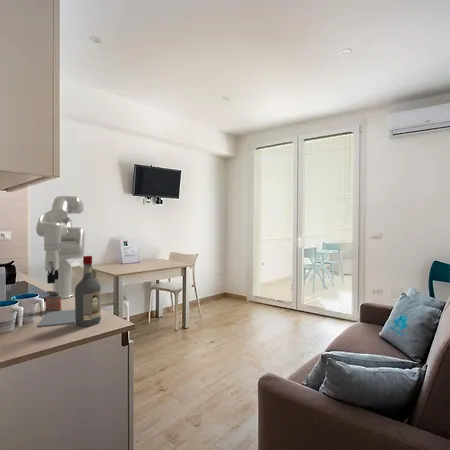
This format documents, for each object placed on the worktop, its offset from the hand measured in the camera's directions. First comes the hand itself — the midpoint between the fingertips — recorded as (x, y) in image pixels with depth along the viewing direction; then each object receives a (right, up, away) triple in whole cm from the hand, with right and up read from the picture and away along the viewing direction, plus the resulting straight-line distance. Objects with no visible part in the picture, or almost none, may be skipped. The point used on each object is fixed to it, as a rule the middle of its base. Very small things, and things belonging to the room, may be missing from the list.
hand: (53, 281), depth 158 cm
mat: (+9, -15, -11) cm, 21 cm away
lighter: (0, -15, +1) cm, 15 cm away
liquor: (+25, -16, -17) cm, 34 cm away
